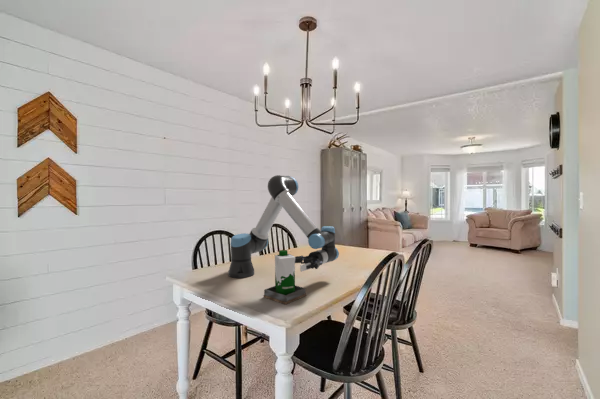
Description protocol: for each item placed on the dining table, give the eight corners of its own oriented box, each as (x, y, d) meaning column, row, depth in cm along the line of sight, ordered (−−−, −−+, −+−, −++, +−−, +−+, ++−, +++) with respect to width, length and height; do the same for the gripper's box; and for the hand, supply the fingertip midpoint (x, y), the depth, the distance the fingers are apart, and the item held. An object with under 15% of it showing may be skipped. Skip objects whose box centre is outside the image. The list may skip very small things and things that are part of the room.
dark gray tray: (263, 297, 137) (263, 289, 137) (284, 289, 147) (284, 282, 147) (285, 304, 128) (285, 296, 128) (306, 295, 138) (306, 288, 138)
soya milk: (290, 289, 143) (290, 249, 143) (297, 296, 135) (297, 252, 134) (273, 292, 140) (272, 250, 139) (279, 298, 132) (279, 254, 131)
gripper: (337, 269, 147) (310, 278, 131) (299, 261, 164) (272, 269, 148) (337, 254, 147) (310, 262, 131) (299, 248, 164) (271, 254, 148)
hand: (290, 266), depth 139 cm, fingers open, 13 cm apart
